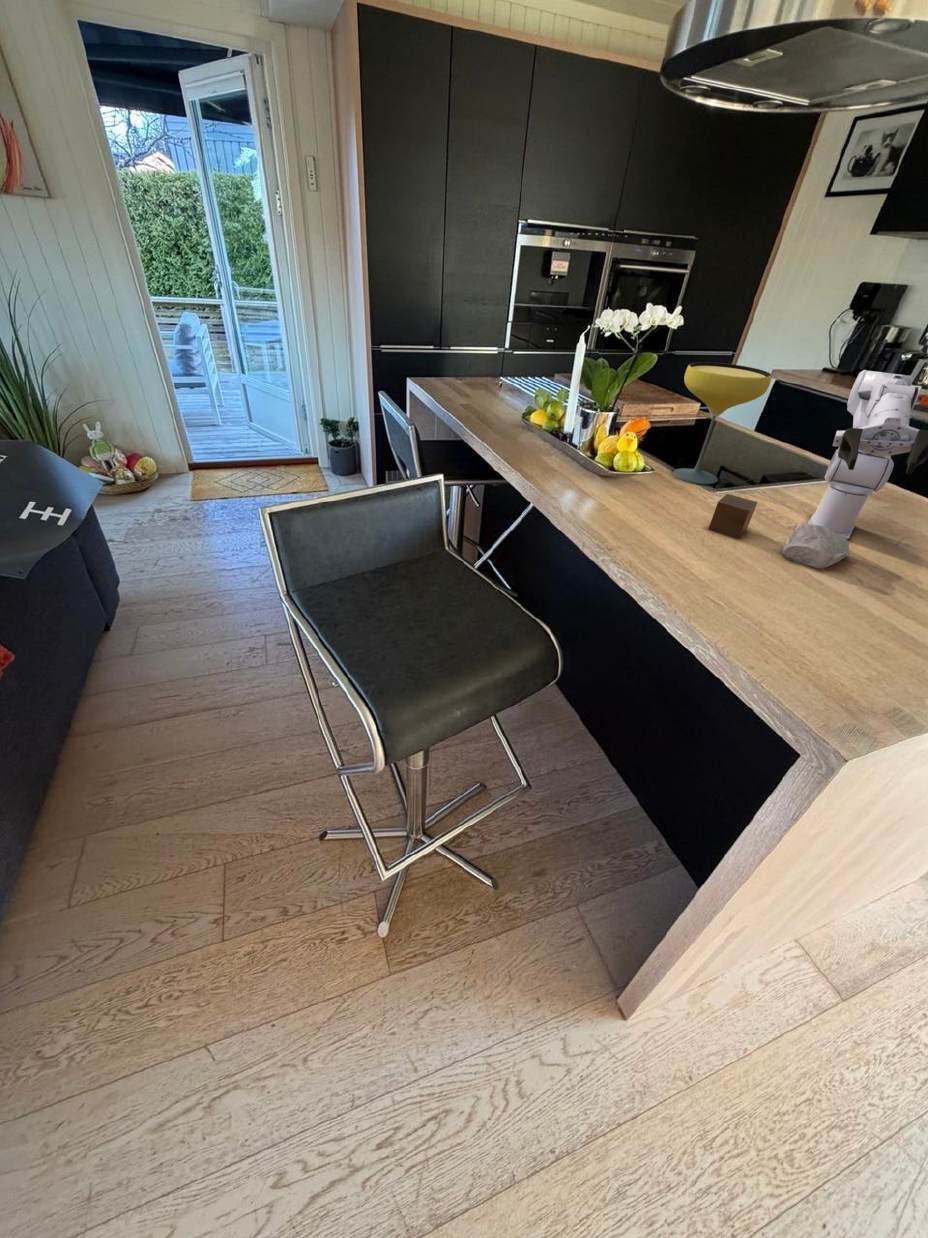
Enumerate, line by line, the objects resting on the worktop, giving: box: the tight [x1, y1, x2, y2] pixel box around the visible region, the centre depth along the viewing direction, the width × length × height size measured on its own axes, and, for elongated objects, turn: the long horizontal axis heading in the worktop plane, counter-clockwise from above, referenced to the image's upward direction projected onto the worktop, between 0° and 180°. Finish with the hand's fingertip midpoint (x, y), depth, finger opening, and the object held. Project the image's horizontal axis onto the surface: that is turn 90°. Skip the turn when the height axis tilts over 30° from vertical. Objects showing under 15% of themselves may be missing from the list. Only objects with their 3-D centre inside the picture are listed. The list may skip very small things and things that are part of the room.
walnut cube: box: [708, 493, 758, 539], centre depth 105 cm, size 6×6×6 cm
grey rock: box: [781, 522, 850, 570], centre depth 98 cm, size 12×5×10 cm
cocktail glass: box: [672, 361, 773, 486], centre depth 125 cm, size 18×18×25 cm
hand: (881, 466), depth 84 cm, fingers open, 7 cm apart
